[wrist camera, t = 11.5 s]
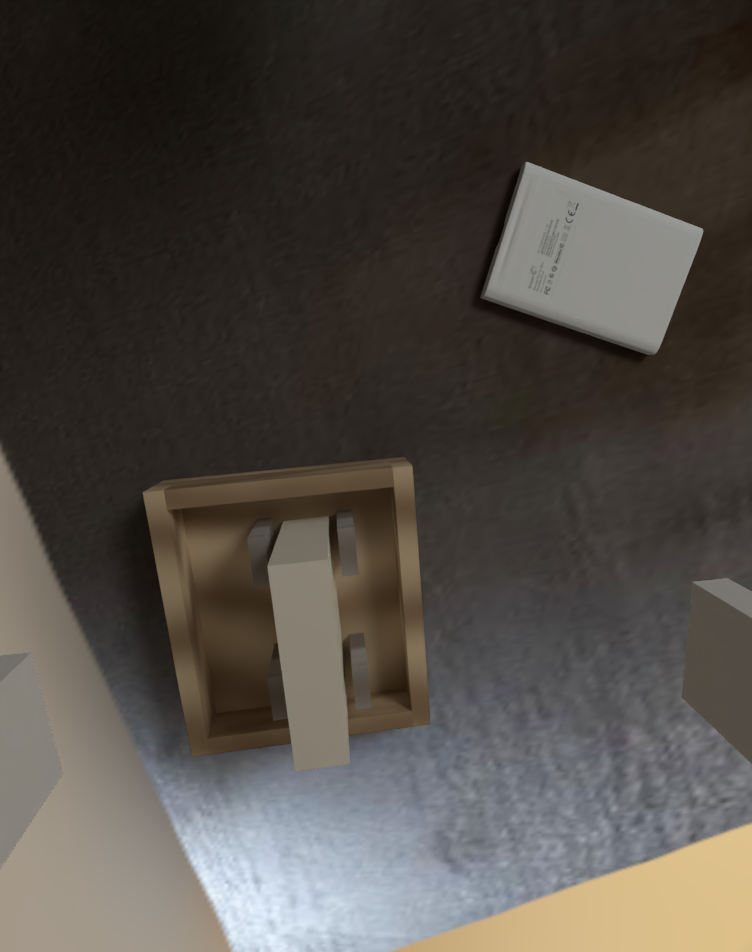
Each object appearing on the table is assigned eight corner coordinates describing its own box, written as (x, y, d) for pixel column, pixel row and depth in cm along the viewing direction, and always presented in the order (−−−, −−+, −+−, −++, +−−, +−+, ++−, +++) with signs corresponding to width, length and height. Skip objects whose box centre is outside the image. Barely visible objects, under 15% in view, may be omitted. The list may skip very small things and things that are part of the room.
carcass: (163, 480, 32) (132, 498, 27) (404, 456, 33) (416, 470, 28) (205, 720, 35) (184, 774, 30) (421, 692, 36) (435, 740, 31)
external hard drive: (642, 355, 34) (477, 299, 32) (687, 235, 32) (518, 169, 31) (657, 354, 32) (484, 295, 30) (706, 227, 31) (528, 157, 29)
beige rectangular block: (283, 520, 32) (267, 566, 24) (328, 516, 32) (327, 559, 24) (303, 682, 34) (295, 771, 26) (346, 677, 34) (349, 764, 27)
